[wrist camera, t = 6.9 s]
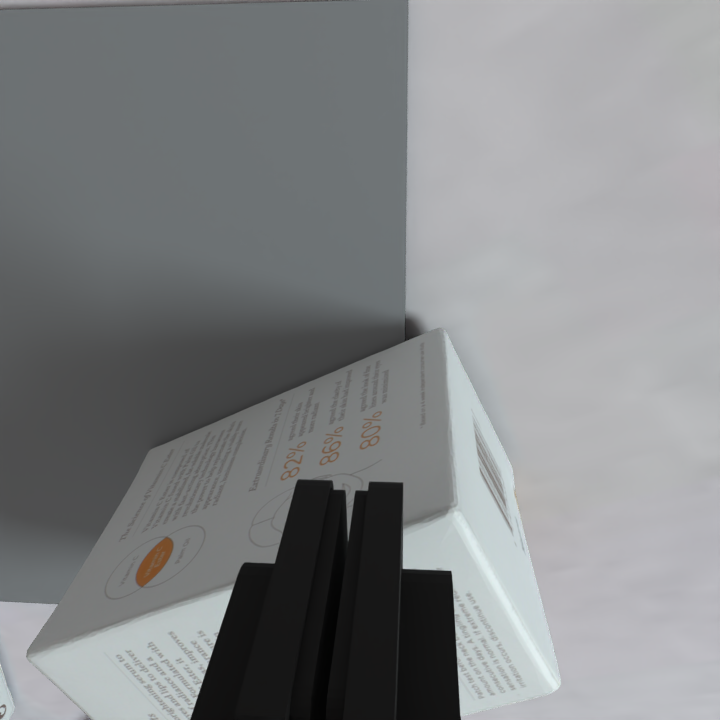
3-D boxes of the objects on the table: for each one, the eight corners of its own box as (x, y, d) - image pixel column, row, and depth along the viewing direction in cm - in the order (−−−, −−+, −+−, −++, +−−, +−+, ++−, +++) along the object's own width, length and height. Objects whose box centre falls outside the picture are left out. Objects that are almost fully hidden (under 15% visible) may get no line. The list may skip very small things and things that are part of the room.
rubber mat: (-208, 15, 17) (-221, 15, 16) (408, -2, 15) (407, -2, 15) (4, 593, 26) (-2, 601, 26) (402, 612, 25) (401, 621, 24)
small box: (518, 465, 21) (239, 562, 24) (444, 318, 19) (147, 445, 22) (567, 703, 14) (161, 798, 17) (457, 511, 12) (13, 659, 15)
